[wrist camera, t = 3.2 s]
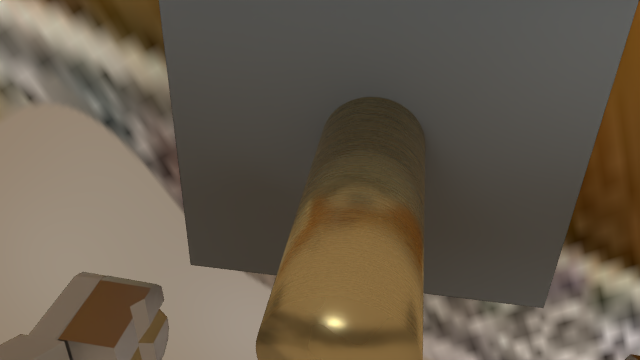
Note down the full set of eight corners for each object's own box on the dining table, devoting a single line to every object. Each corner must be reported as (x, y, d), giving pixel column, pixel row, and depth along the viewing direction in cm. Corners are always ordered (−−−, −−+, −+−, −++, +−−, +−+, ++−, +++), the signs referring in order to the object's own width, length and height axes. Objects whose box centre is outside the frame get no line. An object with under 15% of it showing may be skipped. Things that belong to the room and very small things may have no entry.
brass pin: (418, 192, 18) (412, 424, 11) (320, 182, 18) (258, 401, 12) (431, 101, 16) (432, 310, 10) (322, 92, 17) (252, 287, 10)
